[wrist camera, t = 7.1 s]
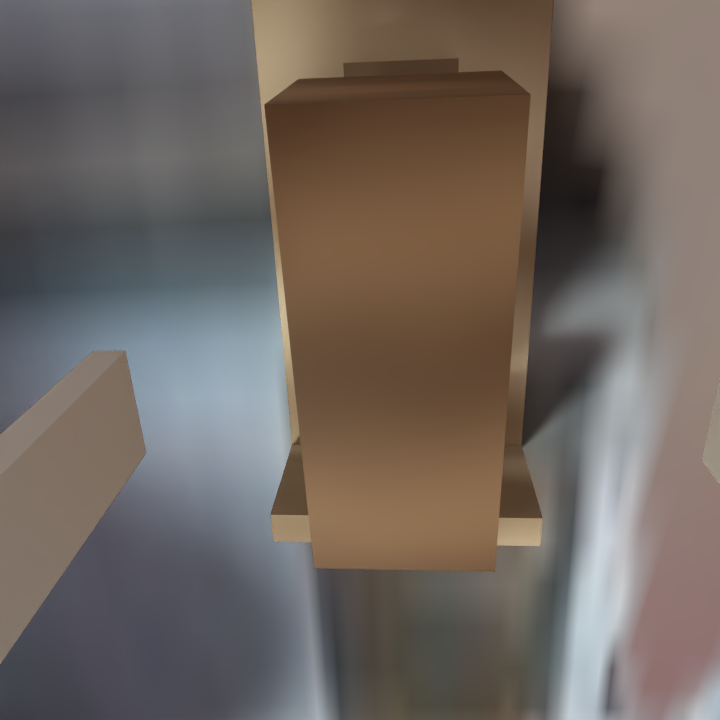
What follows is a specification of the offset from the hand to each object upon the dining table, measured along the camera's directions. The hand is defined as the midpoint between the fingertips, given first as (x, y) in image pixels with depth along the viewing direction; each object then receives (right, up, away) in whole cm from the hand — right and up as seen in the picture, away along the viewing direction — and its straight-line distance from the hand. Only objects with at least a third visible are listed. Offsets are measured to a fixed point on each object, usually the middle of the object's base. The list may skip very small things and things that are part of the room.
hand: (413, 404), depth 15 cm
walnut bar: (0, +3, +3) cm, 4 cm away
